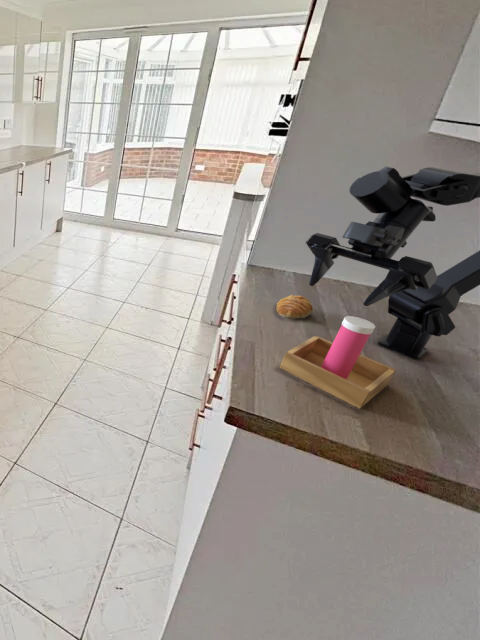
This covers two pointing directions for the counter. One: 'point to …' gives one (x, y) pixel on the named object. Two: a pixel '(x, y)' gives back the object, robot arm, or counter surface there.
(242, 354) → the counter surface
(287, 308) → the pastry
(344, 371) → the candy tube
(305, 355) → the wooden tray
